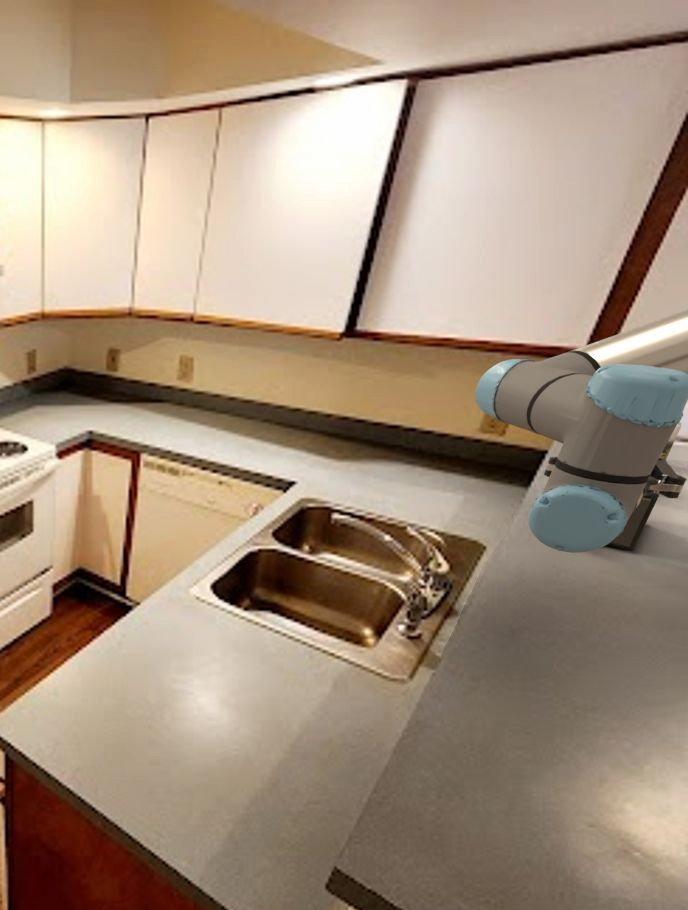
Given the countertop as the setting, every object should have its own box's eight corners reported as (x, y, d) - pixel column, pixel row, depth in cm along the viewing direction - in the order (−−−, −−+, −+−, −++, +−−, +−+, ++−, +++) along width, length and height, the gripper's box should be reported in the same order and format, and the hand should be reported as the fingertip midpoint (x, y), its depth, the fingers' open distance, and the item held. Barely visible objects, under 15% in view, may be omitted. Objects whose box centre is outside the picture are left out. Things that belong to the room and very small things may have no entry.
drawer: (625, 555, 100) (647, 508, 96) (549, 538, 106) (567, 493, 103) (639, 522, 110) (660, 478, 106) (569, 508, 117) (586, 466, 113)
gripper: (691, 473, 69) (712, 434, 82) (540, 449, 78) (581, 418, 92) (662, 534, 72) (686, 487, 85) (520, 505, 81) (562, 466, 95)
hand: (632, 451), depth 88 cm, fingers closed
